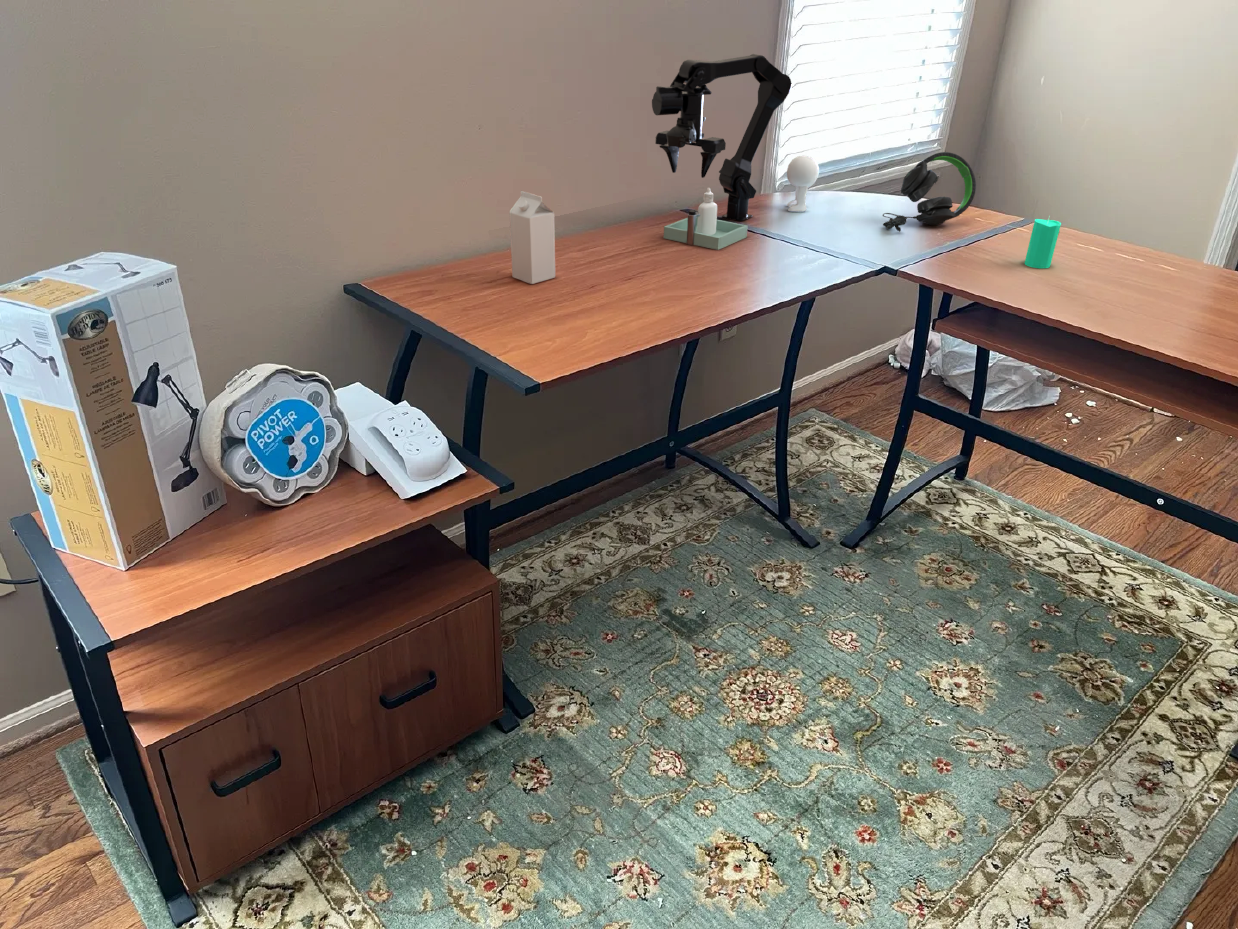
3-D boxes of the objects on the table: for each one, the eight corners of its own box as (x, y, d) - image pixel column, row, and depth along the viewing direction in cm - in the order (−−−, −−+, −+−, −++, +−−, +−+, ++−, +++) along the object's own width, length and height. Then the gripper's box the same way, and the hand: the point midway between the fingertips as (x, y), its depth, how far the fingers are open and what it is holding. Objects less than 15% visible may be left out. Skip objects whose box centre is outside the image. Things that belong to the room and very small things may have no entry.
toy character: (782, 204, 270) (787, 151, 262) (813, 205, 269) (819, 152, 261) (783, 212, 262) (789, 158, 254) (815, 213, 261) (822, 159, 253)
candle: (1020, 264, 222) (1032, 215, 216) (1029, 259, 225) (1041, 210, 219) (1044, 270, 218) (1057, 220, 212) (1054, 264, 222) (1067, 215, 216)
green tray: (693, 226, 248) (694, 214, 246) (746, 237, 239) (747, 225, 238) (663, 238, 238) (663, 226, 236) (718, 250, 229) (718, 237, 228)
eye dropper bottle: (693, 232, 240) (695, 186, 234) (713, 231, 241) (716, 185, 235) (698, 237, 237) (701, 190, 231) (719, 236, 238) (722, 189, 232)
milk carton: (535, 270, 213) (533, 188, 203) (555, 278, 209) (554, 194, 199) (512, 277, 209) (508, 193, 199) (531, 285, 204) (528, 199, 195)
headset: (893, 257, 254) (975, 200, 256) (915, 249, 241) (1002, 189, 243) (859, 202, 252) (943, 144, 253) (880, 191, 238) (968, 131, 240)
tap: (692, 240, 236) (694, 207, 232) (700, 242, 235) (702, 209, 231) (684, 243, 233) (686, 211, 229) (691, 245, 232) (693, 212, 228)
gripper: (644, 113, 235) (642, 175, 243) (705, 121, 225) (701, 185, 233) (668, 107, 243) (666, 168, 251) (728, 115, 233) (724, 178, 241)
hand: (688, 174), depth 244 cm, fingers open, 9 cm apart
